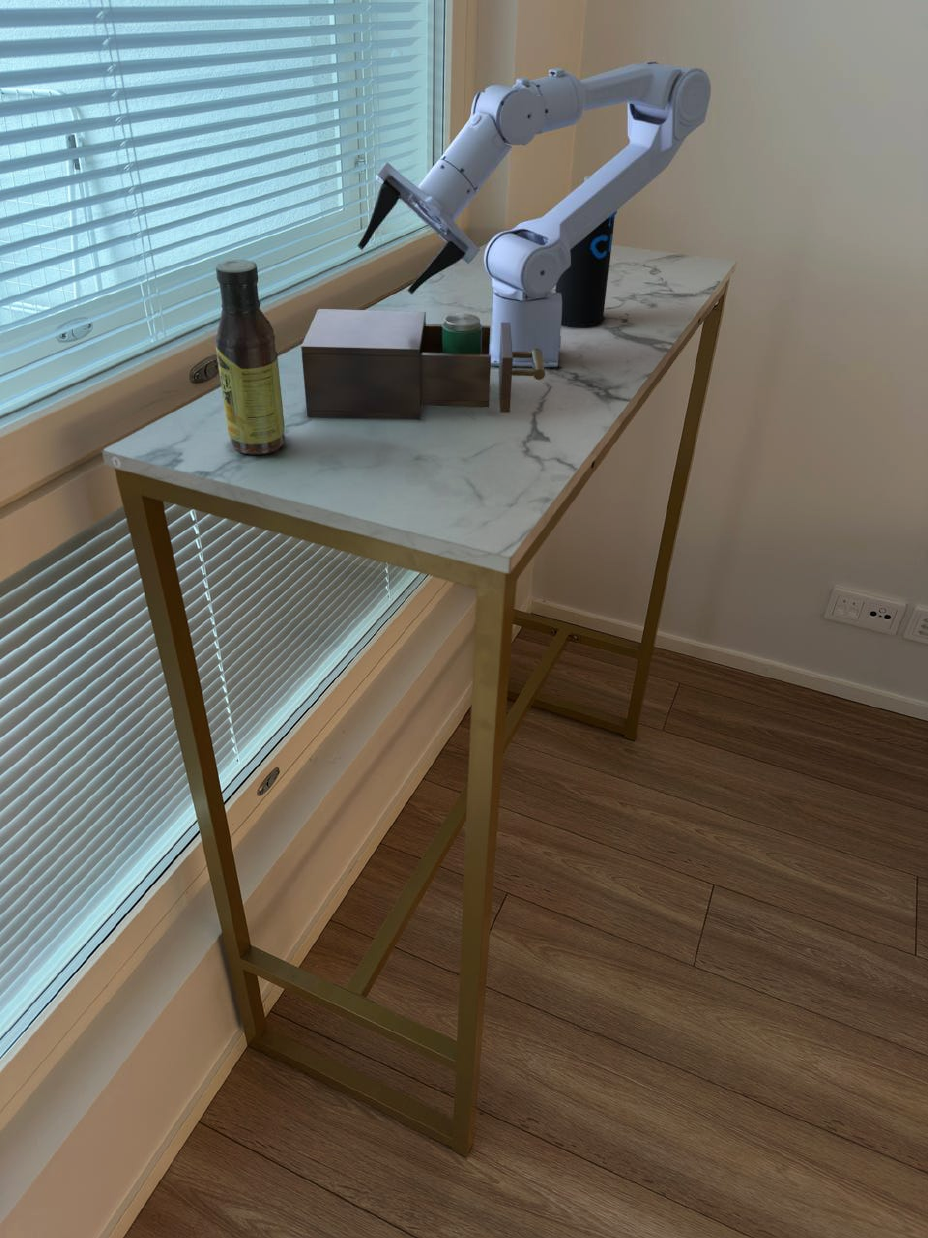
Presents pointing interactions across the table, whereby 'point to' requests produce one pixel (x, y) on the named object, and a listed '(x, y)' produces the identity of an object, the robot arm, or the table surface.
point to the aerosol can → (587, 278)
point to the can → (462, 334)
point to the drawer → (470, 371)
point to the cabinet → (363, 364)
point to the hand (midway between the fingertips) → (385, 269)
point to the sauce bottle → (248, 363)
